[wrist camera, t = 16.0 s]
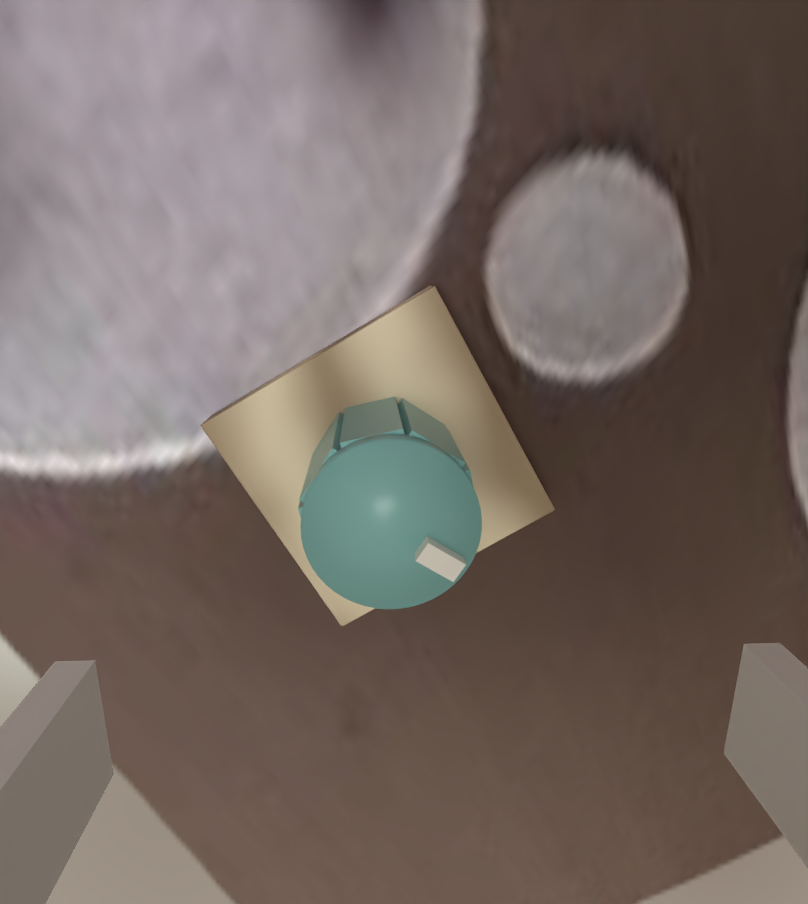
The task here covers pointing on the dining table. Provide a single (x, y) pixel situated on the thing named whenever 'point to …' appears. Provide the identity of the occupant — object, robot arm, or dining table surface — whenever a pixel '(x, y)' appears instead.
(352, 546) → the cap
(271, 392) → the bolt post
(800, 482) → the dining table surface
